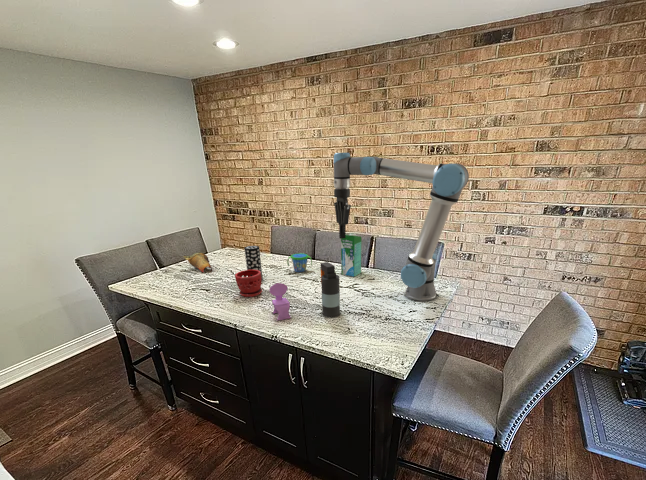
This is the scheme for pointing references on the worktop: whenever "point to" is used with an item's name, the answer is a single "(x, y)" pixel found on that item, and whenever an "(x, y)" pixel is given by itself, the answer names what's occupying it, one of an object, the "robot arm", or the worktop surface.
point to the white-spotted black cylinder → (253, 258)
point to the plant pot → (249, 282)
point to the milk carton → (351, 255)
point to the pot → (198, 261)
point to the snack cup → (299, 261)
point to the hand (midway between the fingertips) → (342, 238)
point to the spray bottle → (330, 291)
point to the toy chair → (280, 301)
